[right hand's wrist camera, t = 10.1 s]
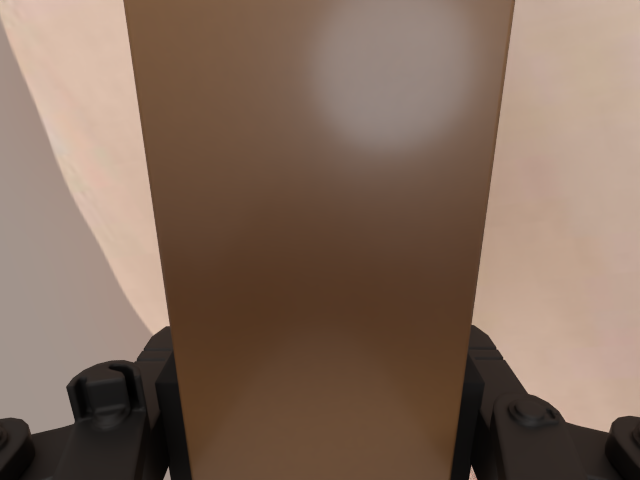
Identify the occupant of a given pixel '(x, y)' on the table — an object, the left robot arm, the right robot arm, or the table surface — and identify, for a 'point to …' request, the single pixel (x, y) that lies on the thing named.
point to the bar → (320, 223)
